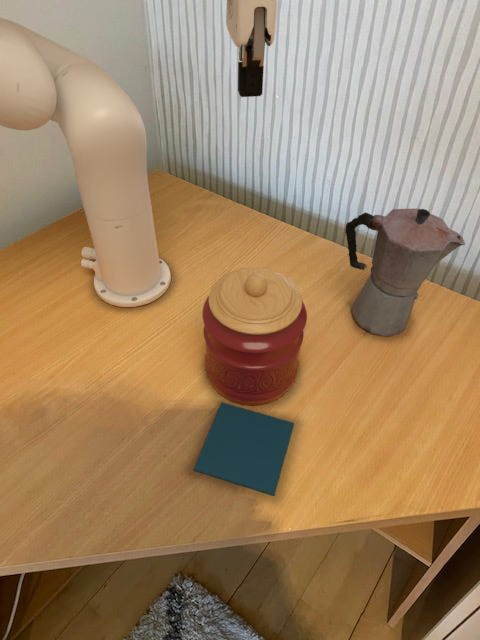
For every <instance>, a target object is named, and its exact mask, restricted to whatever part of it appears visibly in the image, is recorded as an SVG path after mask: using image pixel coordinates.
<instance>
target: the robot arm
mask: <svg viewBox="0 0 480 640" xmlns="http://www.w3.org/2000/svg"><path fill="white" fill-rule="evenodd" d="M225 10H226V11H225V13H226V14H225V23H226V25H225V26H226V28H227V31H228V33H229V36H230V38H231V40H232V42H233V44H234V45H235V46H236V47H237V48H238V63H237V92H238V94H239V96H240V97H241V98H250V97H251V98H252V97H253V98H254V97H261V96H262V95H263V86H264V68H265V65H264V62H265V50H266V45H267V46H268V47H271V46H272V45H273V44H274V43H275V39H276V29H277V20H278V19H277V18H278V16H277V15H278V0H226V9H225ZM49 121H52V122H54V123H57V125H58V127H59V129H60V131H61V132H62V135H63V137H64V139H65V141H66V143H67V146H68V149H69V152H70V156H71V160H72V164H73V168H74V169H73V170H74V174H75V180H76V184H77V188H78V192H79V196H80V201H81V204H82V207H83V210H84V214H85V219H86V223H87V226H88V228H89V233H90V237H91V241H92V245H93V247H89V246H84V247H82V249H81V253H80V254H81V257H82V259H81V261H80V266H81V267H82V268H85V269H92V271H93V272H94V275H93V276H94V277H93V287H94V291H95V292H96V294H97V296H98V297H99V299H101V300H102V301H104V302H105V303H107V304H109V305H111V306H115V307H120V308H121V307H122V308H135V307H140V306H145V305H147V304H150V303H152V302H155V301H156V300H158V299H159V298H160V297H162V296H163V295H164V294H165V293H166V292H167V291H168V289H169V287H170V285H171V280H172V274H171V270H170V267H169V266H168V264H167V263H166V261H164V260H163V259H162V258H160V256H159V248H158V243H157V241H158V240H157V235H156V228H155V221H154V213H153V207H152V198H151V194H150V193H151V192H150V185H149V178H148V176H149V175H148V167H147V165H148V164H147V160H148V159H147V158H148V156H147V155H148V154H147V153H148V152H147V150H148V143H147V142H148V141H147V131H146V127H145V123H144V121H143V118H142V115H141V114H140V112H139V109H138V108H137V106H136V105H135V103H134V102H133V100H132V98H130V96H129V95H128V94H127V93H126V92H125V90H124V89H123V88H122V87H121V85H119V84H118V83H117V82H116V81H115V79H114V78H113V77H112V76H111V75H110V74H109V72H108V71H107V70H105V68H103V67H101V66H100V65H99V64H97V63H96V62H94V61H93V60H91V59H89V58H87V57H85V56H83V55H81V54H79V53H77V52H75V51H73V50H71V49H69V48H67V47H66V46H63V45H61V44H60V43H57V42H55V41H53V40H52V39H50V38H47V37H46V36H43V35H41V34H40V33H37V32H36V31H33V30H32V29H30V28H27V27H26V26H24V25H22V24H20V23H17V22H15V21H12V20H10V19H6V18H3V17H0V126H1V127H4V128H6V129H11V130H16V131H32V130H35V129H39V128H41V127H43V126H44V125H46V124H47V123H48V122H49Z"/></svg>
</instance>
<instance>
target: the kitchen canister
mask: <svg viewBox="0 0 480 640" xmlns="http://www.w3.org/2000/svg"><path fill="white" fill-rule="evenodd" d="M201 312H202V321H203V324H204V325H203V339H204V342H205V357H204V366H205V371H206V374H207V377H208V380H209V383H210V384H211V386H212V387H213V388H214V390H215V391H216V392H217V393H218V394H219V395H220V396H222V397H223V398H225V399H227V400H228V401H230V402H232V403H235V404H239V405H243V406H261V405H266V404H269V403H272V402H275V401H277V400H278V399H280V398H281V397H283V396H284V395H285V394H286V393H287V392H288V391H289V390H290V388H291V387H292V385H293V383H294V382H295V380H296V377H297V374H298V371H299V363H300V362H299V361H300V360H299V357H300V351H301V347H302V345H303V342H304V333H305V332H304V330H305V328H306V325H307V321H308V314H307V308H306V305H305V303H304V301H303V297H302V293H301V291H300V289H299V287H298V286H297V284H295V282H293V280H291V279H290V278H289V277H287V275H285V274H283V273H280V272H278V271H276V270H273V269H270V268H266V267H265V268H264V267H244V268H243V267H242V268H238V269H235V270H232V271H230V272H229V271H228V272H227V273H226V274H223V275H222V276H221V277H219V278H218V279H217V280H216V281H214V283H213V285H212V286H211V288H210V291H209V293H208V296H207V297H206V299H205V301H204V303H203V306H202V311H201Z"/></svg>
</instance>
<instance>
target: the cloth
mask: <svg viewBox="0 0 480 640" xmlns="http://www.w3.org/2000/svg"><path fill="white" fill-rule="evenodd" d="M294 426H295V422H292V421H289V420H286V419H282V418H278V417H275V416H271V415H268V414H265V413H261V412H257V411H254V410H251V409H247V408H244V407H240V406H237V405H233V404H231V403H226V402H222V401H221V402H220V404H219V407H218V409H217V412H216V414H215V417H214V419H213V421H212V424H211V426H210V429H209V431H208V433H207V436H206V438H205V441H204V443H203V446H202V448H201V451H200V453H199V455H198V458H197V461H196V462H195V466H194V468H193V471H194V472H197V473H200V474H204V475H206V476H210V477H213V478H215V479H219V480H222V481H225V482H228V483H231V484H235V485H237V486H240V487H244V488H247V489H250V490H253V491H256V492H259V493H263V494H266V495H269V496H272V497H275V496H276V492H277V487H278V484H279V480H280V477H281V472H282V469H283V467H284V466H283V465H284V463H285V459H286V456H287V455H286V454H287V451H288V448H289V445H290V440H291V437H292V433H293V430H294Z"/></svg>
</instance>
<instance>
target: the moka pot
mask: <svg viewBox="0 0 480 640" xmlns="http://www.w3.org/2000/svg"><path fill="white" fill-rule="evenodd" d="M361 225H363V226H366V227H367V228H368V229H369V230H372V231H375V232H376V231H377V234H376V240H375V244H374V250H373V256H372V259H371V264H372V266H371V268H370V274H369V276H368V278H366V281H365V283H364V284H363V285H362V286H363V287H362V288H361V290H360V292H359V294H358V295H357V296H356V299H355V300H354V302H353V304H352V306H351V308H350V310H351V314H352V317H353V319H354V320H355V322H356V324H358V325H359V326H360V327H361V328H363V329H364V330H365V331H367V332H369V333H371V334H373V335H376V336H382V337H393V336H396V335H398V334H399V335H400V333H402V332H404V331H405V329H406V326H407V325H408V322H409V320H410V317H411V315H412V312H413V311H412V310H413V308H414V304H415V301H416V300H417V299H418V298H419V293H418V291H419V289H420V288H421V286H422V285H423V283H424V282H425V281H426V279H428V277H429V275H430V274H431V272H432V271H433V269H434V268H435V267H436V265H437V264H438V263H439V262H441V261H442V260H443V259H445V258H446V257H447V256H449V255H450V254H451V253H452V252H454V251H455V250H456V249H458V248H459V247H461V246H466V241H465V239H464V237H463V236H462V235H461V234H460V233H459V232H457V231H455V230H453V229H451V228H449V226H448V225H447V223H446V222H445V220H444V219H443V218H441V217H439V216H437V215H434V214H432V213H430V211H429V210H427V209H425V208H393V209H392V210H390V211H389V212H388V213H387V214H386V215H385V216H384V215H381V214H374V215H373V214H371V213H369V212H363V213H362V214H359V215H358V216H357V217H354V218H353V219H352V220H351V221H349V222H347V223H346V224H345V237H346V242H347V250H348V257H349V266H350V267H351V268H353V269H358V270H362V271H364V270H365V269H367V267H368V265H367V264H366V263H364V262H359V261H358V256H357V239H356V238H357V235H356V234H357V233H356V229H357V227H358V226H361Z"/></svg>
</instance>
